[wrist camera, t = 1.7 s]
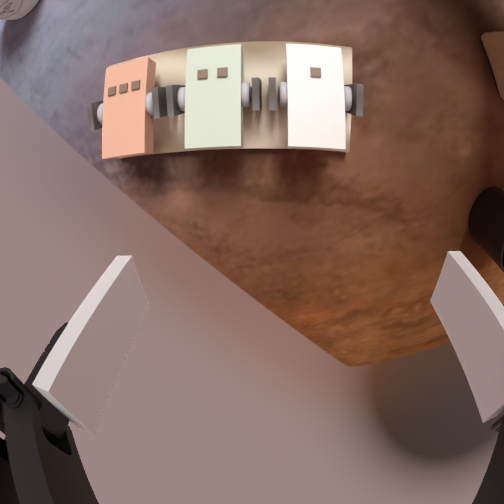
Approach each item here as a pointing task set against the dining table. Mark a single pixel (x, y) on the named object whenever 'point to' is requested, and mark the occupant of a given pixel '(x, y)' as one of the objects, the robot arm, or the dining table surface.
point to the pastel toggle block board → (254, 117)
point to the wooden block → (495, 56)
